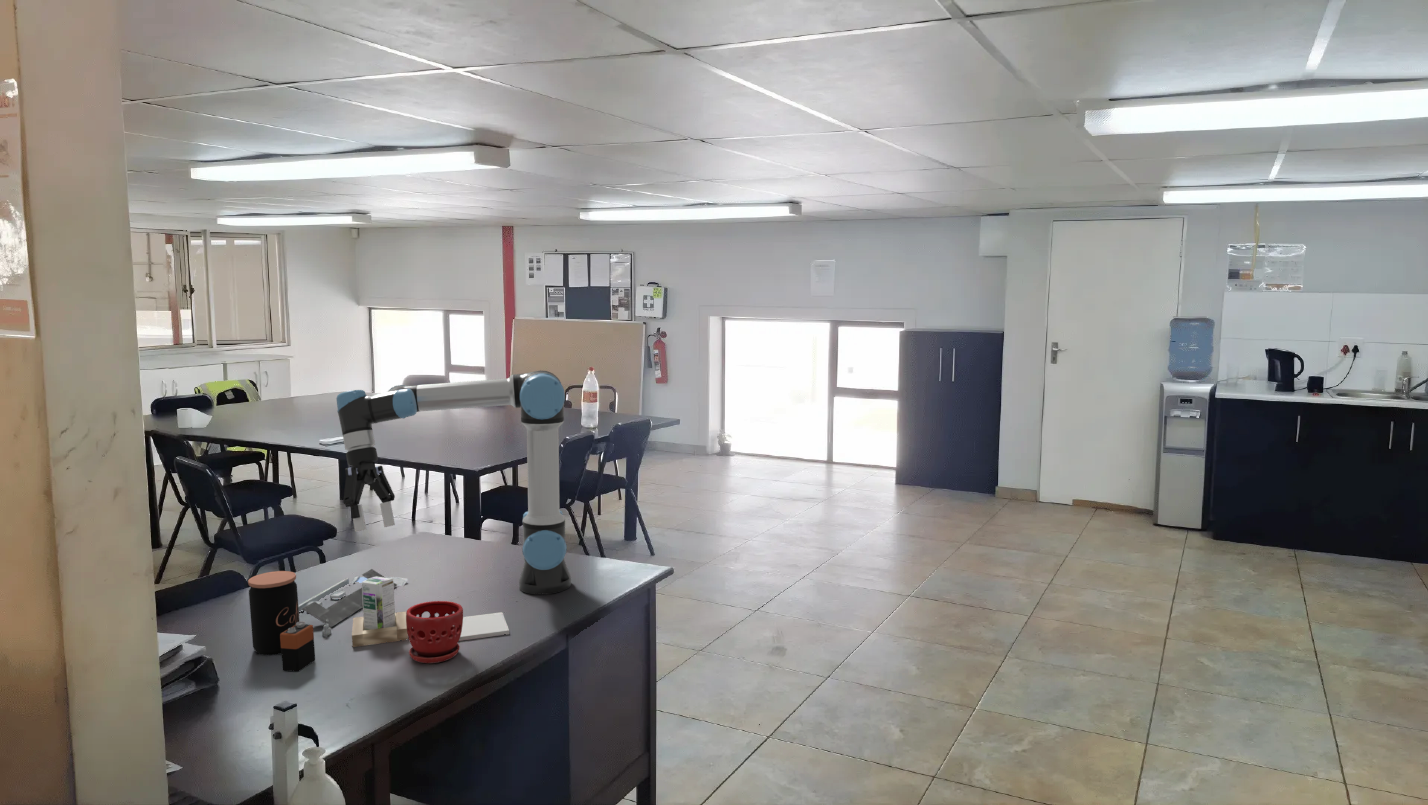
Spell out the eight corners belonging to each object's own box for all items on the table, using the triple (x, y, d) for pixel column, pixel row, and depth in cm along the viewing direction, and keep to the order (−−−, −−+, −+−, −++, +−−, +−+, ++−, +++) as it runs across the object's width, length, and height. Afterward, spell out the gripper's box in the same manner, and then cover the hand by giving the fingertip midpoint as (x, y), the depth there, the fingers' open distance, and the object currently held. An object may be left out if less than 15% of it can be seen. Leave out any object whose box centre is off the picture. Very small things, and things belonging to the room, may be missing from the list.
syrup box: (363, 637, 231) (360, 582, 229) (379, 628, 237) (376, 575, 235) (381, 639, 229) (378, 584, 227) (397, 631, 234) (394, 577, 233)
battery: (316, 660, 216) (313, 620, 215) (298, 672, 210) (295, 631, 209) (300, 659, 217) (297, 619, 216) (281, 671, 211) (278, 630, 209)
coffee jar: (282, 658, 218) (276, 585, 216) (243, 654, 220) (237, 583, 218) (310, 641, 229) (305, 572, 226) (272, 638, 231) (267, 569, 228)
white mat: (502, 615, 245) (502, 612, 245) (509, 634, 232) (509, 630, 232) (448, 622, 240) (448, 619, 240) (452, 641, 227) (452, 638, 227)
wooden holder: (406, 622, 241) (405, 611, 241) (407, 639, 229) (407, 628, 228) (353, 628, 237) (353, 617, 236) (352, 647, 224) (351, 635, 224)
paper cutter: (261, 634, 234) (259, 614, 234) (357, 579, 278) (356, 562, 277) (325, 638, 231) (323, 617, 231) (411, 582, 275) (410, 564, 274)
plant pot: (434, 671, 210) (431, 622, 208) (396, 660, 217) (393, 611, 215) (476, 652, 221) (474, 605, 219) (439, 641, 228) (436, 595, 226)
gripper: (374, 452, 251) (388, 527, 249) (318, 452, 227) (334, 535, 225) (398, 446, 250) (413, 521, 248) (345, 445, 225) (361, 529, 224)
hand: (375, 528), depth 236 cm, fingers open, 13 cm apart
